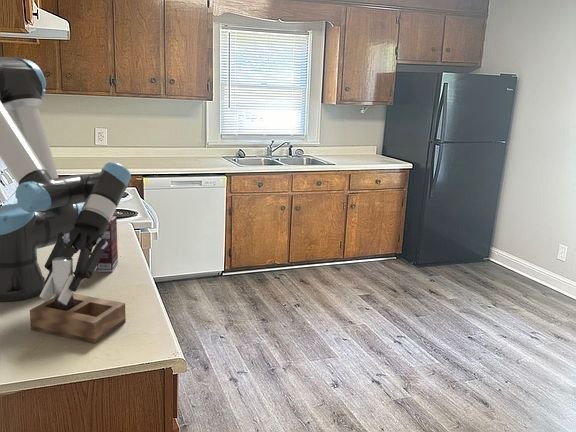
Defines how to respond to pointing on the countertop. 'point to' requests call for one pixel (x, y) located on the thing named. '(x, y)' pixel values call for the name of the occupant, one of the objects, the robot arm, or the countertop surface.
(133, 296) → the countertop surface
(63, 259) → the pin
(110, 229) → the supplement box
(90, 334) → the socket block
